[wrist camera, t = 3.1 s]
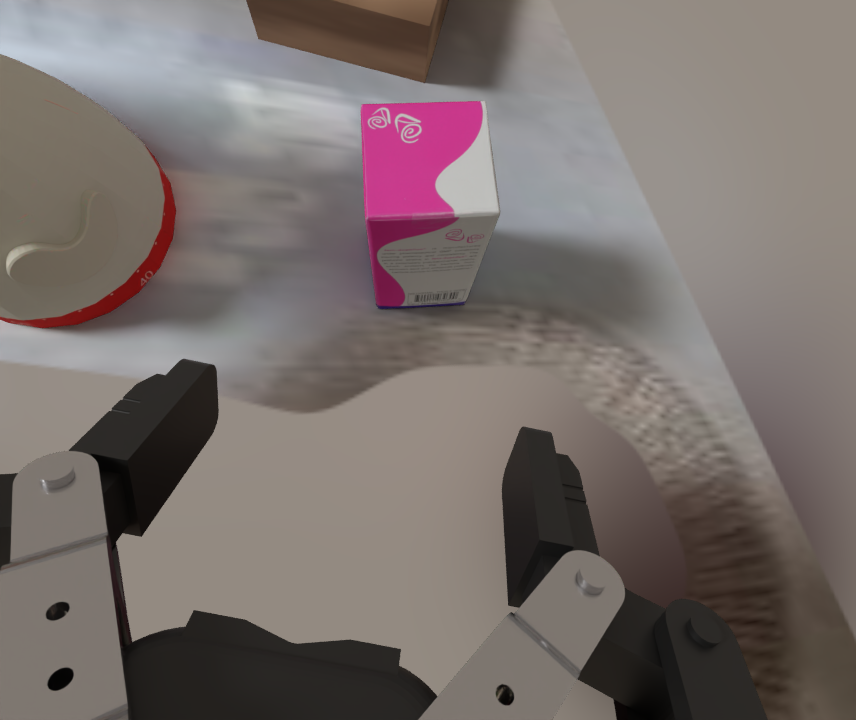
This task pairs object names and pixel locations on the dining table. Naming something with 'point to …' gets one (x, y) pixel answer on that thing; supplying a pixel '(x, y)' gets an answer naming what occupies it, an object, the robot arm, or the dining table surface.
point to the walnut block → (356, 31)
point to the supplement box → (427, 199)
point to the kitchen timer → (73, 204)
